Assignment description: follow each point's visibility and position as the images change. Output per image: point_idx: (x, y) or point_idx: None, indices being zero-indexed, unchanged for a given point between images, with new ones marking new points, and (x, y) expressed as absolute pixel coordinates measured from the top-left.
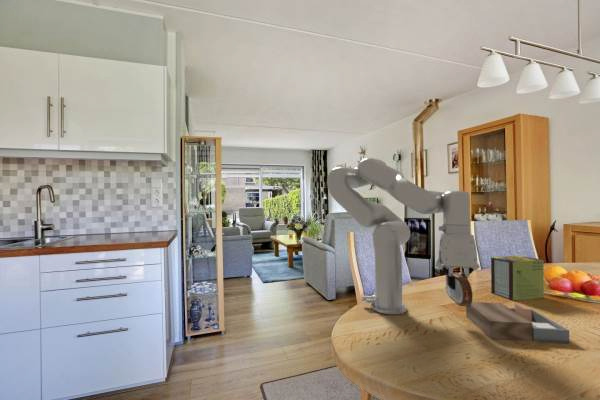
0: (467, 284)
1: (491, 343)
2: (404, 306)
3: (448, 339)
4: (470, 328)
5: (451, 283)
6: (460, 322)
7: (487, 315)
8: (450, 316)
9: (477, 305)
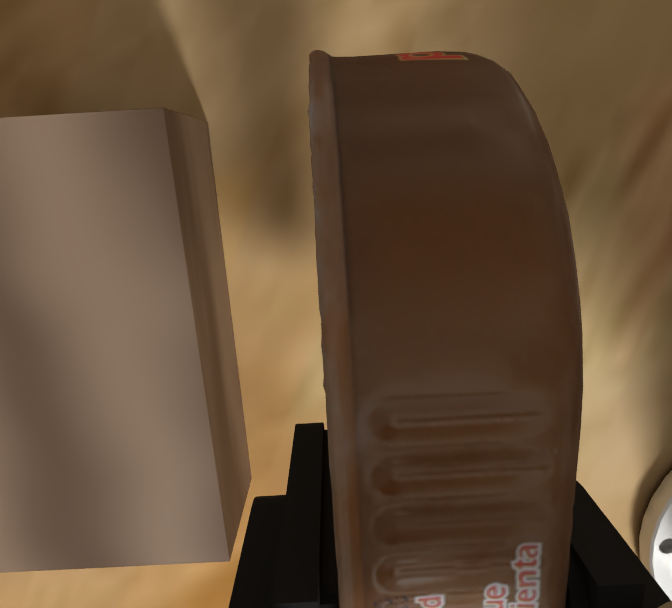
0: (388, 144)
1: (225, 35)
2: (670, 535)
3: (520, 43)
4: (289, 277)
5: None
6: None
7: (143, 254)
8: None
9: (158, 489)
